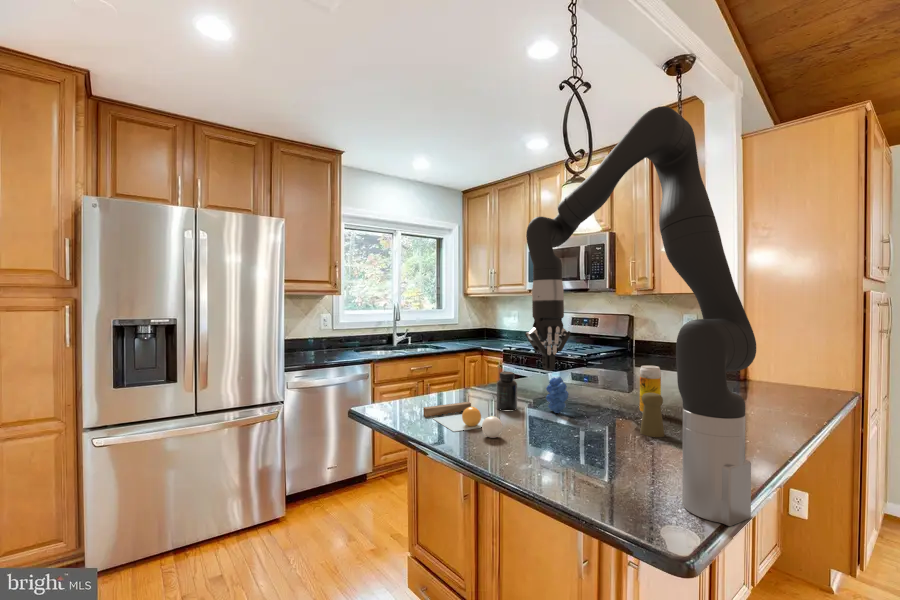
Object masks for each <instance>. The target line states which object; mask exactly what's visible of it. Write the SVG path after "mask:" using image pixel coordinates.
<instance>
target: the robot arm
mask: <svg viewBox="0 0 900 600" xmlns="http://www.w3.org/2000/svg"><path fill="white" fill-rule="evenodd" d="M645 159H648V160H650V161H651V163H652V164H653V166H654V168H655V171H656V173H657V176H658V179H659V183H660V186H661V193H662V195H661V196H662V197H661V204H660V209H659V210H660V211H659V218H658V224H659V225H658V226H659V231H660V235H661V236H660V237H661V239H662V243H663V248H664V253H665V256H666V257H667V260H668V262H669V263H670V265H672V266H671V267H673V268H674V270H675V272H676V273H677V275H679V276H680V278H681V279H682V280H683V281H684V282H685V284H686V285H687V286H688V287H689V288H690V290H691V291H692V293H693V295H694V297H695V298H696V300H697V303H698V305H699V309H700V312H701V315H702V318H701V319H692V320H690V321H687V322H686V323H685V324H682V326H681V328H680V329H679V331H678V334H677V337H676V342H675V346H676V347H675V358H676V360H675V361H676V362H675V363H676V375H677V380H676V381H677V388H678V392H679V395H680V396H681V400H682V449H681V450H682V452H681V453H682V466H681V467H682V468H681V469H682V471H681V473H682V475H681V476H682V477H681V478H682V479H681V481H682V484H681V485H682V488H681V489H682V490H681V491H682V492H681V493H682V496H681V497H682V499H681V502H682V506H683V507H684V508H685V510H686V511H688V512H689V513H691V514H693V515H695V516H697V517H699V518H700V519H701V518H702V519H704V520H706V521H711V522H715V523H720V524H722V525H723V524H724V525H726V526H728V527H732V526H734V525H736V524H739V523H742V522H744V521H747V520H749V519H751V518H752V463H751V461H750V460H748V459H746V401H745V399H744V398H743V397H742V396H741V395H739V394H737V393H734V392H732V391H731V390H730V389H729V387H728V384H727V383H728V381H727V372H737V371H742V370H745V369H747V368H748V367H750V365H752V363H754V360H755V358H756V355H757V340H756V337H755V333H754V330H753V327H752V325H751V323H750V320H749V318H748V315H747V313H746V311H745V308H744V306H743V303H742V301H741V298H740V297H739V294H738V291H737V289H736V286H735V283H734V280H733V276H732V272H731V270H730V266H729V264H728V261H727V257H726V254H725V251H724V250H725V249H724V247H723V246H724V245H723V243H722V242H723V241H722V238H721V234H720V230H719V226H718V222H717V219H716V216H715V212H714V210H713V208H712V205H711V201H710V197H709V195H708V192H707V189H706V186H705V184H704V182H703V178H702V174H701V171H700V164H699V157H698V151H697V143H696V136H695V132H694V129H693V127H692V125H691V124H690V122H689V121H688V120H687V119H685V118H684V117H683V116H682V115H680V114H679V112H677V111H676V110H675V109H673V108H671V107H669V106H664V105H663V106H657V107H654V108H652V109H651V108H650V109H649V110H648V111H647V112H645V113H644V114H643V115H642V116H641V117H640V118H638V119H637V120H636V122H635V123H634V124H633V125H632V126H631V127H630V129H629V130H628V131H627V132H626V133H625V134H624V135H623V137H622V138H621V139H620V140H619V142H617V144H616V145H615V146H614V147H613V149H612V150H610V152H609V153H608V154H607V155H606V156H605V158H603V160H602V161H601V163H599V165H598V166H597V167H596V168H595V169H594V170H593V171H592V173H590V175H589V176H587V177H586V178H585V180H583V181H582V182H581V183H579V185H578V186H576V187H575V189H573V190H572V191H571V192H569V194H567V195H566V196H565V197H564V198H563V199H562V200H560V202H559V204H558V206H557V213H558V214H557V215H556V216H555V217H553V218H550V217H546V216H536V217H534V218H532V219H531V220H530V222H529V224H528V226H527V228H526V234H525V235H526V245H527V248H528V251H529V256H530V260H531V262H532V280H533V281H532V289H531V290H532V291H531V299H532V300H531V303H532V305H531V306H532V311H531V312H532V318H533V320H534V321H533V324H532V329H531V330H530V331H527V332H525V338H526V339H527V341H528V342H529V344H530V345H531V346H532V348H533V349H534V351H535V352H536V353H539V354H541V356H542V357H541V360H542V362H541V363H542V365H541V366H542V368H543V370H544V371H549V372H550V371H554V370H555V368H556V354H557V353H558V352H562V350H563V349H564V347H565V346H566V343H567V341H568V340H569V338H570V336H571V334H572V333H571V331H568V330H566V329H565V328H564V323H563V319H564V317H565V303H564V300H565V299H564V284H563V283H564V282H563V263H562V260H561V258H560V257H559V256H557V255H556V253H555V252H554V248H558V247H559V246H561V245H563V244H565V243H566V242H567V241H568V240H569V239H570V238H571V237H572V236H573V234H574V232H576V230H577V229H578V228H579V226H580V225H581V224H582V223H584V221H586V220H587V219H588V218H589V217H591V216H592V215H593V214H594V213H596V212H597V211H598V210H600V209H601V208H602V206H604V205H605V203H606V202H607V201H608V200H609V198H610V197H611V196H612V194H613V191H614V190H615V188H616V187H617V185H618V183H619V182H620V180H621V179H622V178H623V177H624V176H625V174H627V172H628V171H630V170H631V169H632V168H633V167H634V166H636V165H637V164H638V163H640V162H641V161H643V160H645Z"/></svg>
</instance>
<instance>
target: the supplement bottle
mask: <svg viewBox="0 0 900 600" xmlns="http://www.w3.org/2000/svg"><path fill="white" fill-rule="evenodd" d="M514 379H515V372H512V371H501V372H499V380H497V382H496V409H497V408H498V409H501V410H515V409H516V410H517V409H518V383H517V381H516V380H514ZM498 409H497V410H498ZM501 410H500V411H501ZM516 410H515V411H516Z"/></svg>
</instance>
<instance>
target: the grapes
mask: <svg viewBox="0 0 900 600" xmlns="http://www.w3.org/2000/svg"><path fill="white" fill-rule="evenodd" d="M567 388H568V386H567V384H566V383H565V382H564V380H563V378H561V376H556V377H552V378H551V379H550V380H549V382H548V385H547V386H546V387H545V390H546V391H547V393H548V394H547V395H546V396H545V400H546V401H547V402H548V405H547V408H548V409H549V410H550V411H552V412H554V413H555V414H556V413H558V414H559V413H561V412H562V411H564V410H565V408H566V407H567V404H566V401H567V400H568V398H569V392H568V391H567Z"/></svg>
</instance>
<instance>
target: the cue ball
mask: <svg viewBox="0 0 900 600" xmlns="http://www.w3.org/2000/svg"><path fill="white" fill-rule="evenodd" d="M484 419H485V420H484V421H483V423H482V428H481V429H482V433H483V434H484V435H485V436H486V437H487V438H490V439H496V438H498V437H499V436H500V435H501V434H502V432H503V429H504V426H503V423H502V421H501V419H499V418H498V417H497V416H495V415H493V416H488V417H486V418H484Z"/></svg>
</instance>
